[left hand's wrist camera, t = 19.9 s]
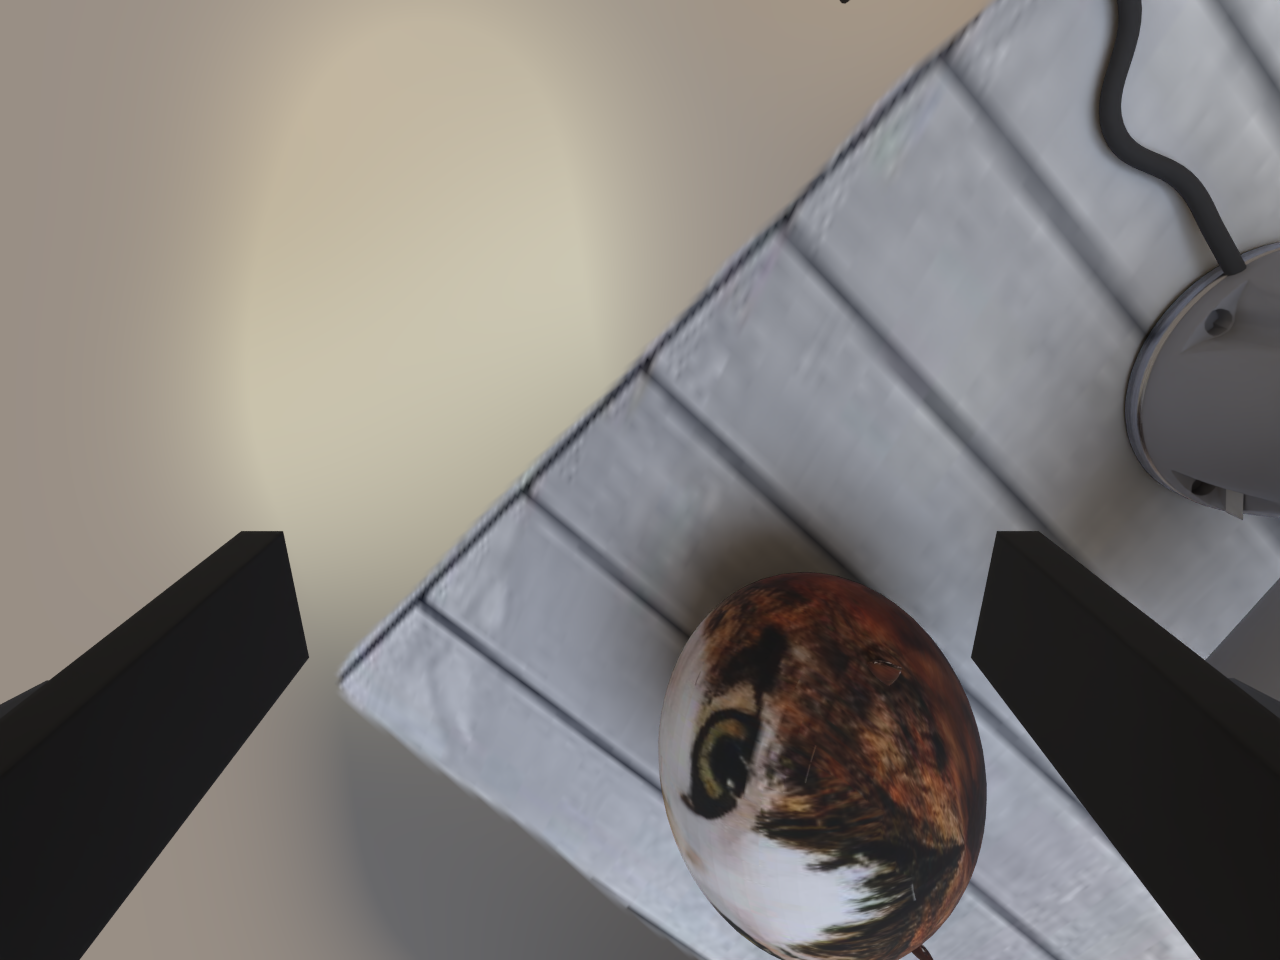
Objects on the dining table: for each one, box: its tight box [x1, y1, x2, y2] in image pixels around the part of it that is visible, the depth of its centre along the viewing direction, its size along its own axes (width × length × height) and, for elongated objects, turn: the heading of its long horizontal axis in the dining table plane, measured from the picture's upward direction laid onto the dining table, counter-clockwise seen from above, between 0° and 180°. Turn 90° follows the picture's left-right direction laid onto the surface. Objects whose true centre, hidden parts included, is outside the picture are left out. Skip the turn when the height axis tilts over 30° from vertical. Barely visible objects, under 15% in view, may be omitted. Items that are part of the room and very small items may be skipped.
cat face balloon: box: [659, 572, 987, 960], centre depth 39 cm, size 22×18×20 cm
